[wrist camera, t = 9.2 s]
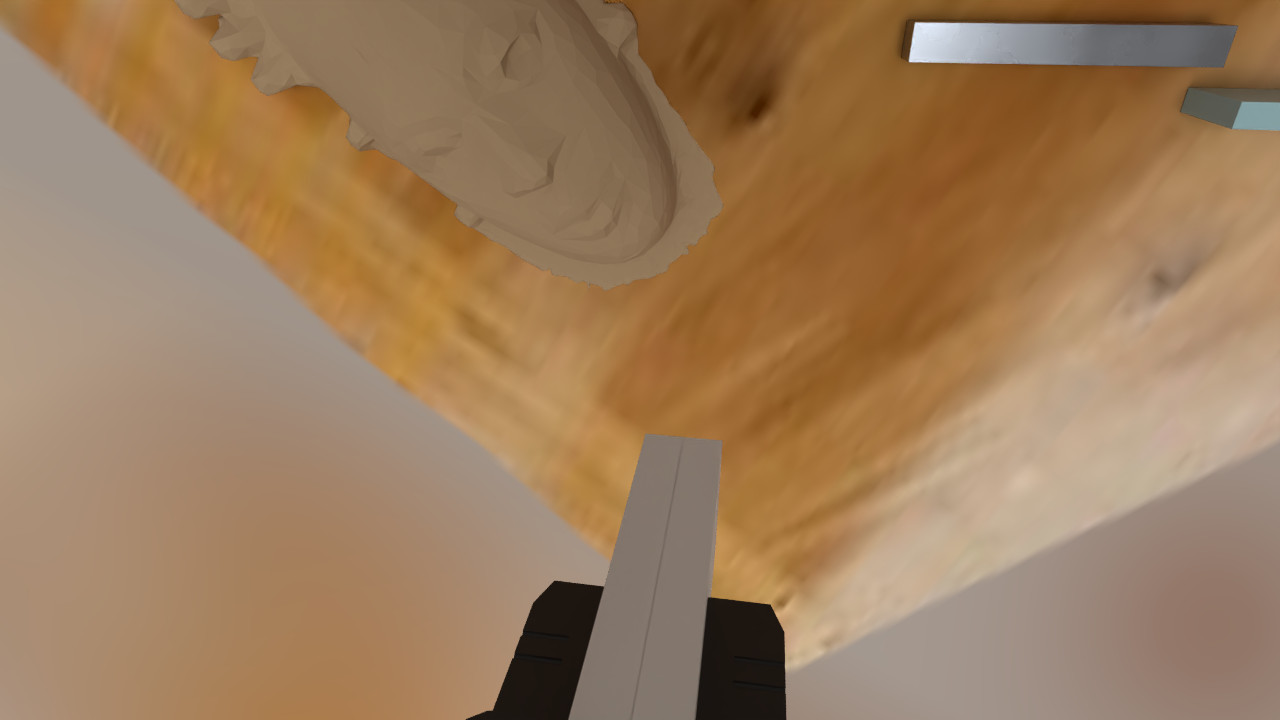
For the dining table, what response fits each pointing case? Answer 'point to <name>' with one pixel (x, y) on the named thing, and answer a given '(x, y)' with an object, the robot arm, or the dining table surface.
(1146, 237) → the dining table surface
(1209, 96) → the bracket
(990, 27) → the slot
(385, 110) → the mask
